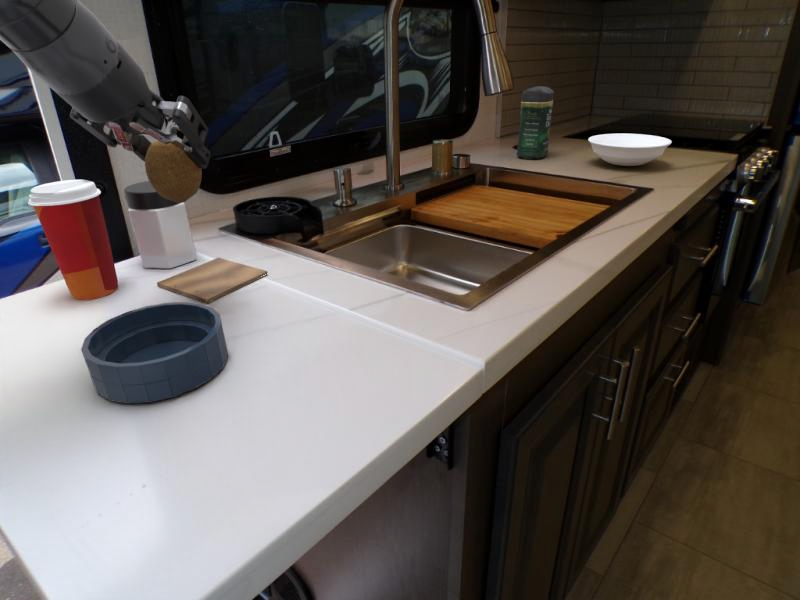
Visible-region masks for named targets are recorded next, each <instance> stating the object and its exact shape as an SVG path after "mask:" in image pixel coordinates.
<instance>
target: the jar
mask: <svg viewBox="0 0 800 600" xmlns="http://www.w3.org/2000/svg"><path fill="white" fill-rule="evenodd" d="M123 193H124V199H125V201H126V204H127V207H128V210H127V211H128V215H129V219H130V223H131V227H132V230H133V235H134V238H135V241H136V245H137V249H138V253H139V257H140V261H141V263H142V264H141V265H142V267H143V268H144V269H161V270H163V269H164V270H165V269H166V270H167V269H168V270H172V269H174V268H177V267H180V266H183V265H185V264H189V263H192V262H194V261H196V260H197V252H196V245H195V241H194V237H193V233H192V228H191V223H190V218H189V214H188V208H187V205H186V201H185V202H183V203H177V202H174V201H171V200H168V199H166V198H163V197H162V196H160V195H159V194H158V193H157V192H156V190H155V189H154V188H153V187H152V185H151V183H150V181H149V180H146V181H145V180H144V181H140V182H137V183H136V182H135V183H132V184H130V185H127V186H126V187H124V189H123Z"/></svg>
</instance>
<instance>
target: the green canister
mask: <svg viewBox="0 0 800 600" xmlns="http://www.w3.org/2000/svg"><path fill="white" fill-rule="evenodd" d="M554 94H555V91H554V90H553V89H552V88H551V87H549V86H541V85H538V86H534V87H529V88H527V89H526V90H523V92H522V93H521V98H520V99H521V100H520V120H519V129H518V140H517V149H516V157H518V158H521V159H524V160H532V159H537V160H539V159H542V158H544V157H546V156H547V155H548V154H549V143H550V133H551V132H550V130H551V121H552V113H553V106H554V105H553V104H554Z"/></svg>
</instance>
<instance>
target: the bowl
mask: <svg viewBox="0 0 800 600" xmlns="http://www.w3.org/2000/svg"><path fill="white" fill-rule="evenodd" d="M587 141H588V142H589V144H590V145H591V149H592V152H593V153H595V154H596V155H597V156H598V157H599V158H600V159H601V160H603V161H604V162H606V163H608V164H611V165H615V166H623V167H634V166H635V167H636V166H642V165H645V164H647V163H649V162H652V161H653V160H655V159H657V157H660V156H662V155H663V154H664V153H665V151H666V149H667V148H668V147H669V146H670V145H671V144H672V142H673V141H672V140H671V139H669V138H667V137H662V136H659V135H652V134H643V133H604V134H597V135H592V136H590V137H588V139H587Z"/></svg>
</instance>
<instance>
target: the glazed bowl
mask: <svg viewBox="0 0 800 600" xmlns="http://www.w3.org/2000/svg"><path fill="white" fill-rule="evenodd" d="M223 327H224V326H223V323H222V318H221V314H220V313H219V312H218V311H217V310H216V309H214V307H212V306H208V305H205V304H202V303H198V302H189V301H175V302H162V303H157V304H151V305H146V306H142V307H140V308H136V309H132V310H128V311H126V312H124V313H121V314H119V315H117V316H114V317H112V318H109V319H108V320H106V321H105V322H103V323H102V324H100V325H98V326H96V327H95V328H94V329H93V330H91V331H90V333H89V334H87V336H86V337H85V338H84V339H83V342H82V345H81V349H80V351H81V353H82V357H83V359H84V362H85V364H86V365H85V366H86V368H87V371H88V374H89V377H90V379H91V382H92V385H93V387H94V389H95V392H96V393H97V394H98V395H100V396H102V398H105V399H106V400H108V401H111V402H118V403H123V404H139V403H140V404H141V403H142V404H143V403H153V402H157V401H161V400H166V399H170V398H171V399H172V398H174V397H175V398H176V397H177V396H180V395H182V394H184V393H187V392H190V391H193V390H194V389H196V388H198V387H200V386H201V385H204V384H205V383H206V382H209V381H210V380H211V379H213V378H214V377H215V376H216V375H217V374H218V373H219V372H220V371H221V370H222V369H223V368H224V366H225V364H226V363H227V359H228V358H229V352H228V347H227V341H226V338H225V332H224V328H223Z"/></svg>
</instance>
